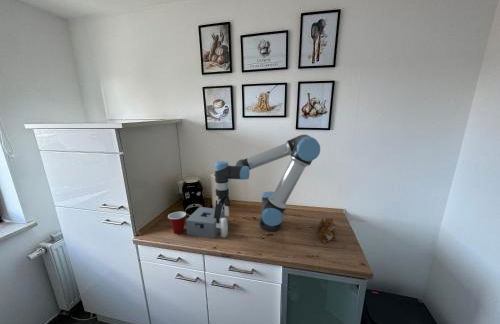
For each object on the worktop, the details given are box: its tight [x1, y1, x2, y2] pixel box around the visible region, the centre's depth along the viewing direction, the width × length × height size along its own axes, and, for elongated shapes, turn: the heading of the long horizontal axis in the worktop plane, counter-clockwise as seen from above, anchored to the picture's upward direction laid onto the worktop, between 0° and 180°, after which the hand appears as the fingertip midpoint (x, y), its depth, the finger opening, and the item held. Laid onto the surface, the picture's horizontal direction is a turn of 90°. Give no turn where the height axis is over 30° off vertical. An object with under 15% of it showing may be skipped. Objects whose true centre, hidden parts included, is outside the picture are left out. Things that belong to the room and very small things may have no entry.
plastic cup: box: [167, 211, 187, 235], centre depth 126 cm, size 11×11×12 cm
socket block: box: [185, 206, 225, 239], centre depth 129 cm, size 18×18×10 cm
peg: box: [219, 217, 229, 238], centre depth 121 cm, size 4×4×11 cm
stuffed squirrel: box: [316, 217, 338, 244], centre depth 119 cm, size 10×14×13 cm
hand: (222, 221), depth 120 cm, fingers open, 13 cm apart
